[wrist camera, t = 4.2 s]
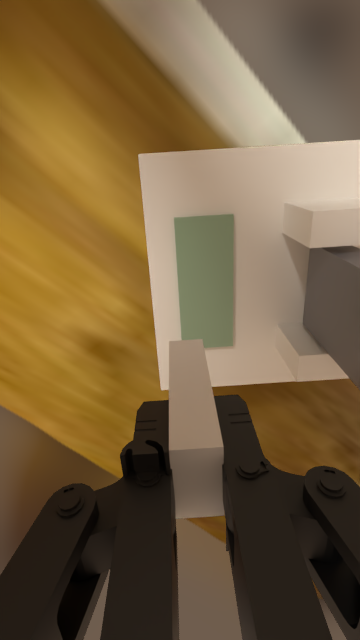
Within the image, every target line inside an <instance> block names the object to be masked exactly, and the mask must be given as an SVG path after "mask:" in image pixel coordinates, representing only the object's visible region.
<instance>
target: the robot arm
mask: <svg viewBox="0 0 360 640" xmlns="http://www.w3.org/2000/svg"><path fill="white" fill-rule="evenodd" d="M120 459H121V465H122V471H123V477H122V478H121V479H120V480H118V481H117V482H116V483H114V484H112V485H110V486H107V487H104V488H102V489H99V490H96V491H93V489H92V488H91V487H90V486H87V485H85V484H82V483H81V484H71V485H68V486H65V487H62V488H61V489H59V490H58V491H56V492H55V493H54V494H53V495H52V496H51V498H50V499H49V500H48V501H47V502H46V504H45V506H44V507H43V509H42V510H41V512H40V514H39V515H38V517H37V518H36V520H35V521H34V523H33V525H32V526H31V528H30V529H29V531H28V533H27V534H26V536H25V537H24V539H23V540H22V542H21V544H20V545H19V547H18V548H17V550H16V551H15V553H14V555H13V556H12V558H11V560H10V561H9V563H8V564H7V566H6V567H5V569H4V570H3V572H2V574H1V575H0V640H83V639H84V636H85V633H86V631H87V628H88V625H89V623H90V620H91V617H92V615H93V612H94V609H95V606H96V604H97V601H98V599H99V596H100V593H101V590H102V588H103V585H104V582H105V580H106V577H107V574H108V571H109V569H110V576H109V583H108V590H107V597H106V604H105V611H104V618H103V624H102V631H101V638H100V640H179V613H178V612H179V611H178V570H177V534H176V519H180V518H196V517H211V516H224V511H225V517H226V551H229V555H230V562H231V568H232V574H233V580H234V587H235V594H236V601H237V606H238V614H239V619H240V626H241V633H242V639H243V640H332V637H331V634H330V631H329V628H328V626H327V623H326V620H325V617H324V614H323V611H322V608H321V605H320V603H319V599H318V597H317V594H316V591H315V588H314V585H313V582H314V583H315V585H316V587H317V589H318V590H319V592H320V594H321V595H322V597H323V599H324V601H325V602H326V604H327V606H328V608H329V609H330V611H331V613H332V614H333V616H334V618H335V620H336V621H337V623H338V625H339V627H340V628H341V630H342V632H343V633H344V635H345V637H346V639H347V640H360V487H359V486H358V485H357V484H356V483H355V482H354V480H353V479H351V478H350V477H349V476H348V475H347V474H345V473H344V472H342V471H340V470H338V469H336V468H333V467H327V466H319V467H314V468H312V469H310V470H308V472H307V473H306V475H305V476H300V475H295V474H290V473H287V472H283V471H281V470H279V469H277V468H275V467H274V466H272V465H271V464H270V462H269V461H268V460H267V459H266V458H265V457H264V455H263V453H262V450H261V447H260V444H259V441H258V438H257V435H256V432H255V429H254V426H253V423H252V420H251V417H250V415H249V411H248V408H247V405H246V402H245V401H243V400H242V399H241V398H240V397H239V396H238V395H226V396H214V395H213V390H212V385H211V380H210V375H209V370H208V365H207V360H206V355H205V350H204V345H203V340H202V339H194V340H179V341H169V400H164V401H149V402H143V404H142V405H141V406H140V408H139V409H138V411H137V416H136V423H135V432H134V438H133V441H131V442H129V443H128V444H127V445H126V446H125V447H124V448H123V450H122V452H121V454H120ZM311 578H312V579H311ZM312 580H313V582H312Z"/></svg>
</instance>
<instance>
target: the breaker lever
mask: <svg viewBox="0 0 360 640" xmlns="http://www.w3.org/2000/svg"><path fill="white" fill-rule="evenodd" d="M303 325H304V326H305V327H306V328H307V329H308V331H309V332H310V333H311V334H312V335H313V336H314V338H315V339H316V340H317V341H318V342H319V343H320V345H321V346H322V347H323V348H324V349H325V350H326V352H327V353H328V354H329V355H330V356H331V357H332V358H333V360H334V361H335V362H336V363H337V364H338V365H339V367H340V368H341V369H342V370H343V371H344V372H345V374H346V375H347V376H348V377H349V378H350V379H351V381H352V382H353V383H354V384H355V385H356V386H357V387H358V389H359V390H360V249H359V248H357V247H354V246H337V247H321V248H310V251H309V262H308V272H307V282H306V293H305V303H304V313H303Z"/></svg>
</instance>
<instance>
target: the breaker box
mask: <svg viewBox="0 0 360 640" xmlns="http://www.w3.org/2000/svg"><path fill="white" fill-rule="evenodd" d="M138 159H139V169H140V179H141V189H142V200H143V210H144V220H145V231H146V241H147V251H148V261H149V272H150V282H151V292H152V303H153V313H154V323H155V333H156V344H157V354H158V364H159V375H160V385H161V390H169V341H179V340H194V339H202V340H203V345H204V350H205V355H206V360H207V365H208V370H209V375H210V380H211V385H212V387H218V386H232V385H247V384H262V383H277V382H292V381H297V382H302V381H317V380H332V379H346V378H349V377H348V376H347V375H346V374H345V372H344V371H343V370H342V369H341V368H340V367H339V365H338V364H337V363H336V362H335V361H334V360H333V358H332V357H331V356H330V355H329V354H328V353H327V352H326V350H325V349H324V348H323V347H322V346H321V345H320V343H319V342H318V341H317V340H316V339H315V338H314V336H313V335H312V334H311V333H310V332H309V331H308V329H307V328H306V327H305V326H304V325H303V313H304V303H305V293H306V282H307V272H308V262H309V251H310V248H321V247H337V246H354V247H357V248H359V249H360V140H351V141H336V142H321V143H304V144H288V145H272V146H257V147H241V148H225V149H209V150H193V151H178V152H162V153H146V154H138Z"/></svg>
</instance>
